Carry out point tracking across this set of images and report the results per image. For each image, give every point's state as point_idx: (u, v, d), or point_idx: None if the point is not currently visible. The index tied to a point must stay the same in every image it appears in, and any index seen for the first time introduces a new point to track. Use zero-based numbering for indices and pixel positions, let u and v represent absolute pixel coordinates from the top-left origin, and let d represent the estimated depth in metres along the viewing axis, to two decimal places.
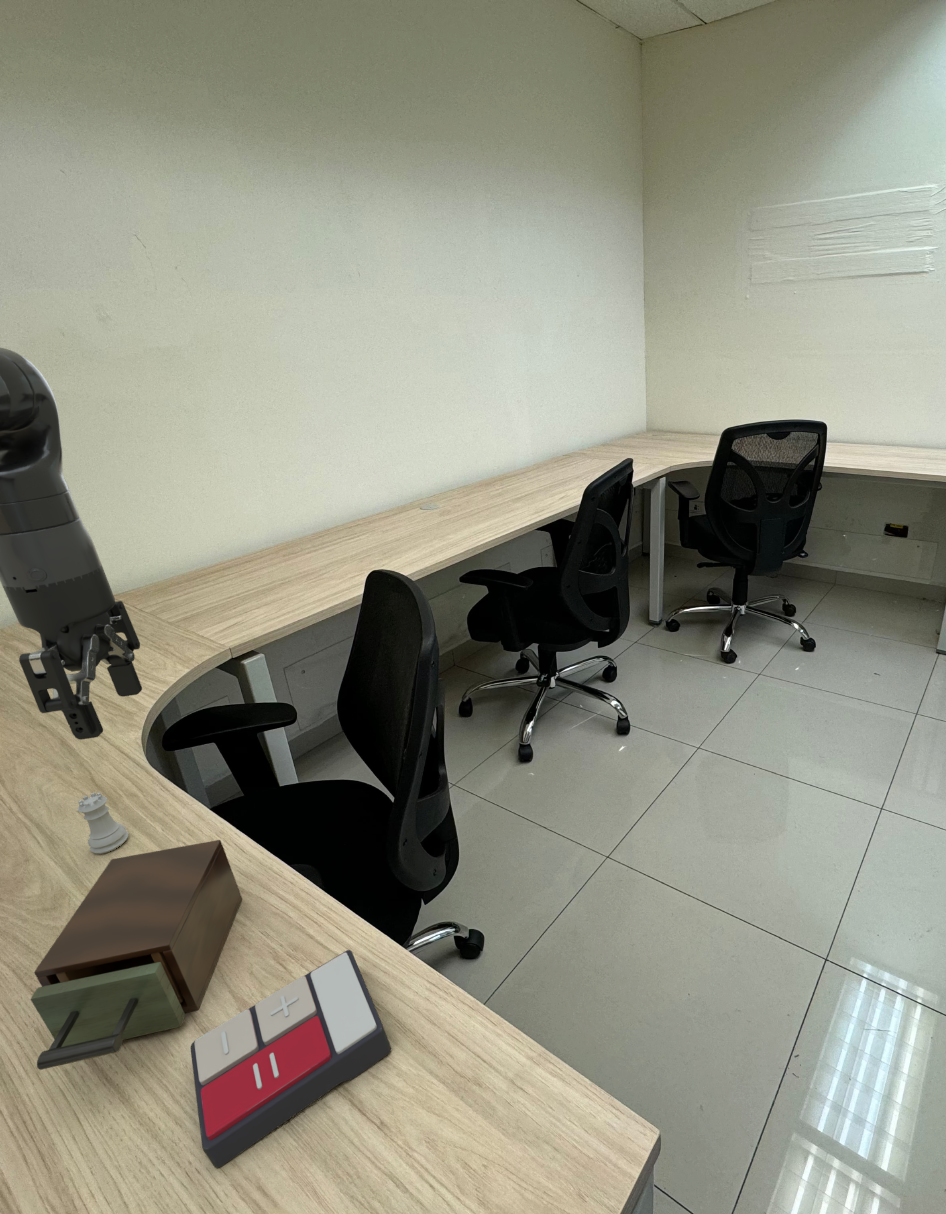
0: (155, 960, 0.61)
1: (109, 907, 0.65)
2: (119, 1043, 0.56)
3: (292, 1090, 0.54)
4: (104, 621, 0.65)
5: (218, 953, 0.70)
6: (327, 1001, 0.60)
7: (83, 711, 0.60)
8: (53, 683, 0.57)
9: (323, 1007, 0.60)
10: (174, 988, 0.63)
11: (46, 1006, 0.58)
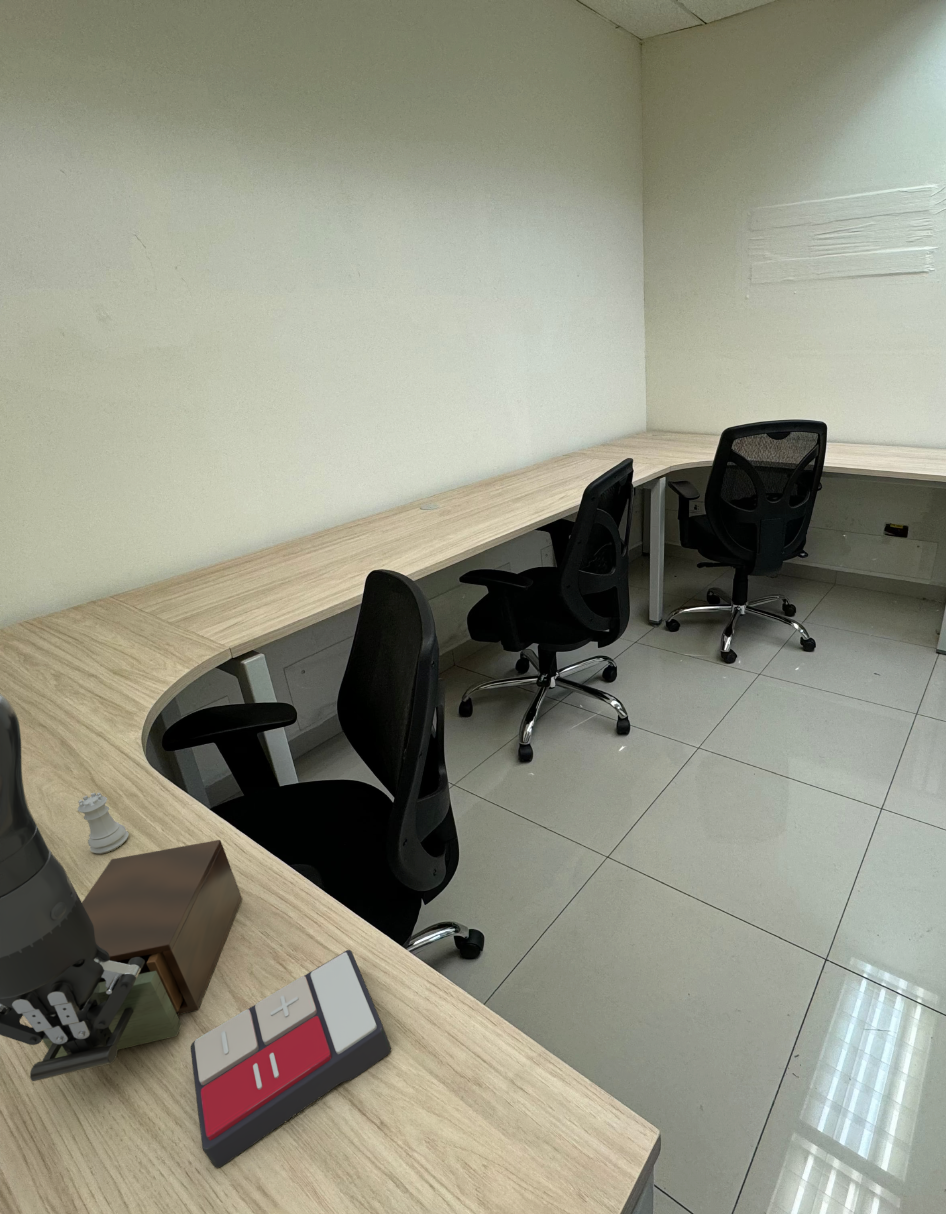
0: (151, 969, 0.60)
1: (109, 907, 0.65)
2: (114, 1054, 0.55)
3: (292, 1090, 0.54)
4: (78, 979, 0.52)
5: (218, 953, 0.70)
6: (327, 1001, 0.60)
7: (66, 1043, 0.55)
8: None
9: (323, 1007, 0.60)
10: (170, 997, 0.62)
11: None
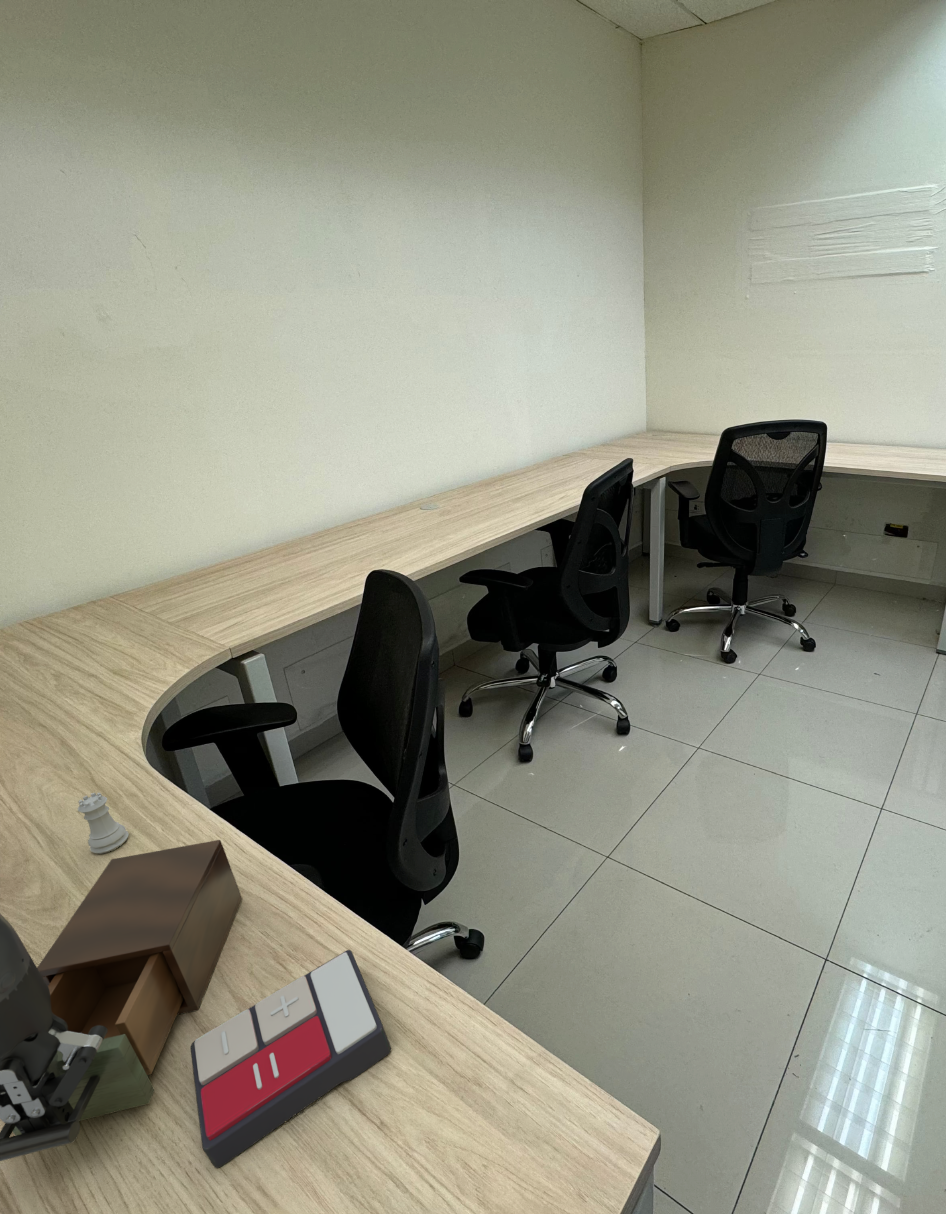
0: (120, 1030, 0.55)
1: (109, 907, 0.65)
2: (76, 1132, 0.50)
3: (292, 1090, 0.54)
4: (31, 1054, 0.47)
5: (218, 953, 0.70)
6: (327, 1001, 0.60)
7: None
8: None
9: (323, 1007, 0.60)
10: (142, 1059, 0.57)
11: None
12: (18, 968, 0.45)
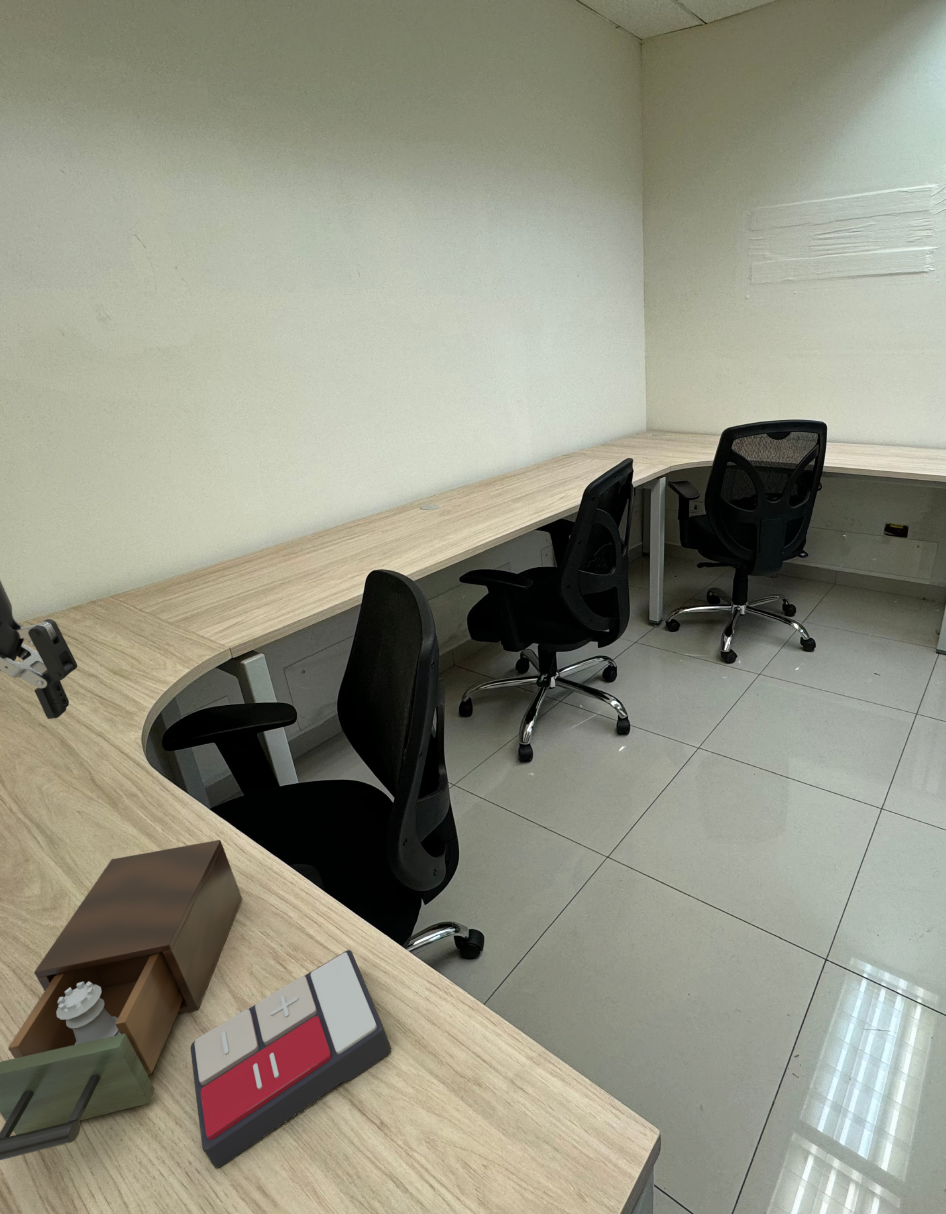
0: (120, 1030, 0.55)
1: (109, 907, 0.65)
2: (76, 1131, 0.50)
3: (292, 1090, 0.54)
4: None
5: (218, 953, 0.70)
6: (327, 1001, 0.60)
7: None
8: (64, 645, 0.64)
9: (323, 1007, 0.60)
10: (142, 1059, 0.57)
11: None
12: None
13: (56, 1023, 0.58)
